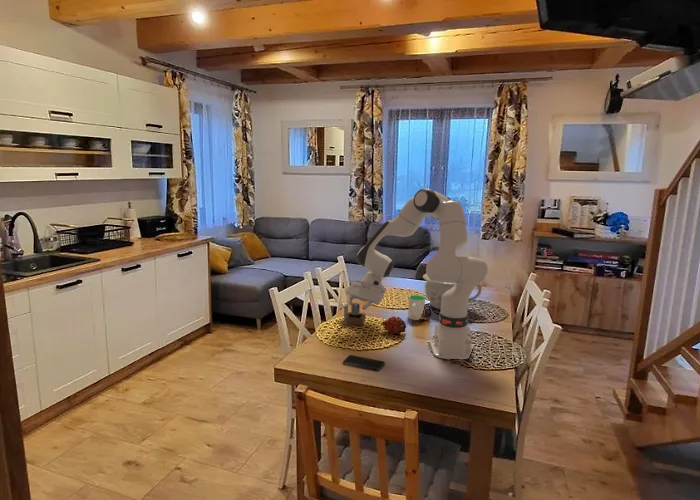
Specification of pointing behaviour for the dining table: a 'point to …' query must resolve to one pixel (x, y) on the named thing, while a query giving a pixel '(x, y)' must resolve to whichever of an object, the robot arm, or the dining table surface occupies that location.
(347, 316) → the keeper
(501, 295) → the dining table surface
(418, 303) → the mug
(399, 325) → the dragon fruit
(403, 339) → the dining table surface
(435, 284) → the chamber pot
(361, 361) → the phone
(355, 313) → the steel toggle
